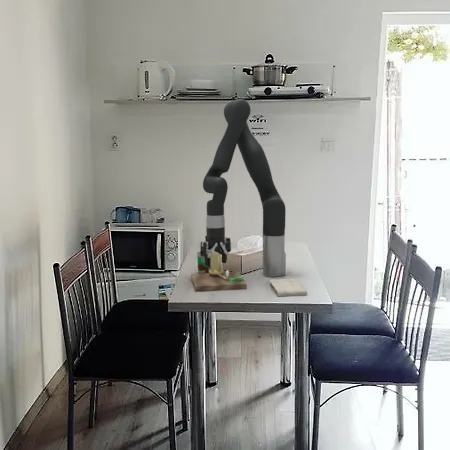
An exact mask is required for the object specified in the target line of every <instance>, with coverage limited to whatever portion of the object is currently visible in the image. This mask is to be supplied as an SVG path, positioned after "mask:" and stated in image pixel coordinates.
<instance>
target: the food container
mask: <svg viewBox="0 0 450 450" xmlns="http://www.w3.org/2000/svg"><path fill="white" fill-rule="evenodd" d="M209 250H211V249H209ZM196 257H197V271H198V272H197V274H198V273H209V269H210V268H211V255H210V257H209V258H210V267H208V266H206V265H205V257H203V256H201V255H200V251H197V254H196Z"/></svg>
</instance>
